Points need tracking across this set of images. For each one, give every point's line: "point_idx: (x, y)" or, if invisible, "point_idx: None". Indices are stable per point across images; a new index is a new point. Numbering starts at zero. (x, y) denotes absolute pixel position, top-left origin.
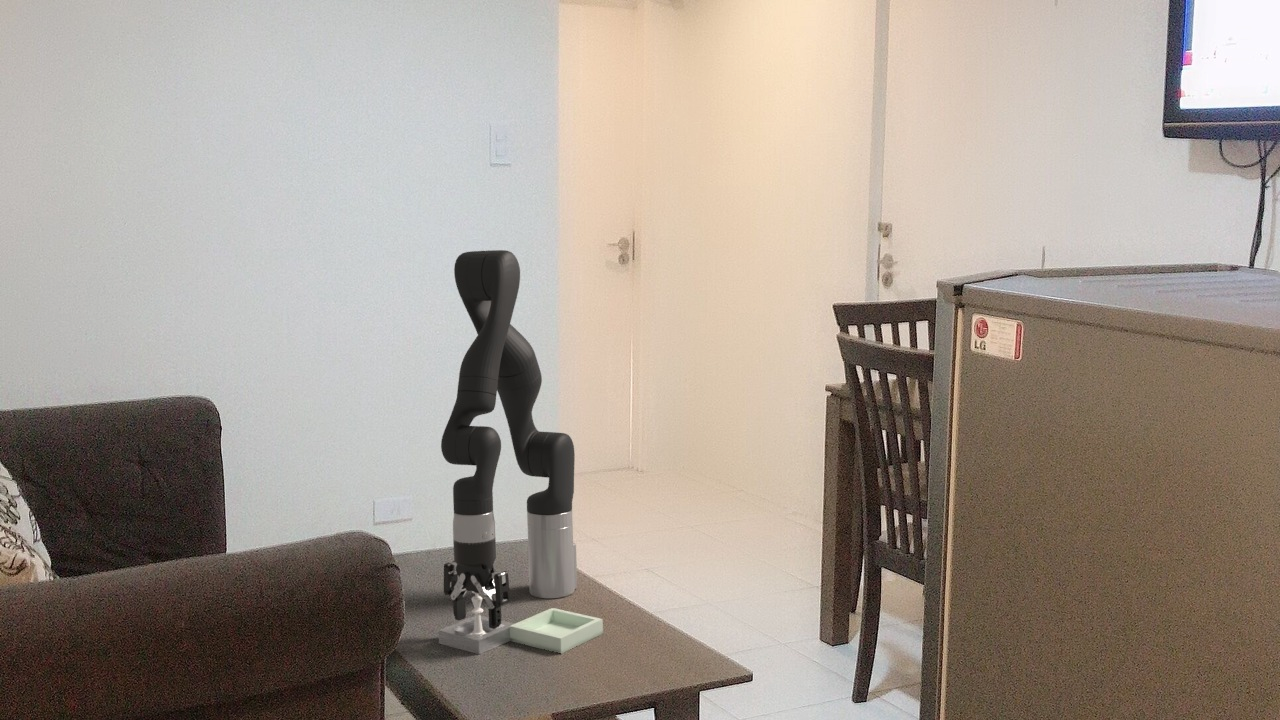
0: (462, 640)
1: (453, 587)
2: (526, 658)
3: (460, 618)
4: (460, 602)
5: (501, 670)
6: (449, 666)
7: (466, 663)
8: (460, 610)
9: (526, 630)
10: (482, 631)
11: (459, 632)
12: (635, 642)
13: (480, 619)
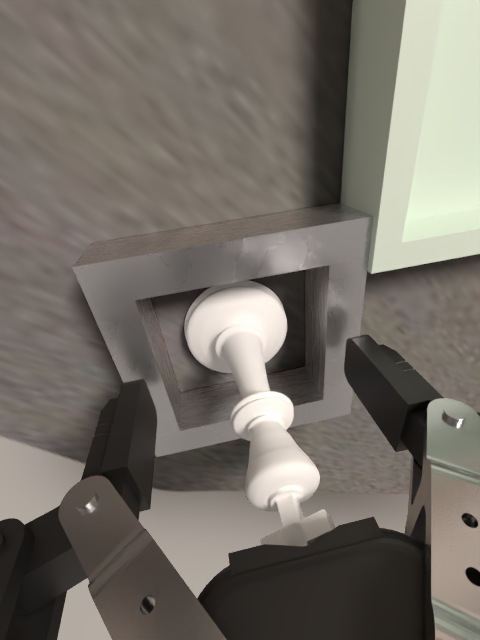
0: None
1: (23, 588)
2: (472, 308)
3: (153, 406)
4: (144, 478)
5: (445, 391)
6: (318, 452)
7: (341, 423)
8: (149, 437)
9: (470, 254)
10: (261, 341)
11: None
12: None
13: (266, 378)
